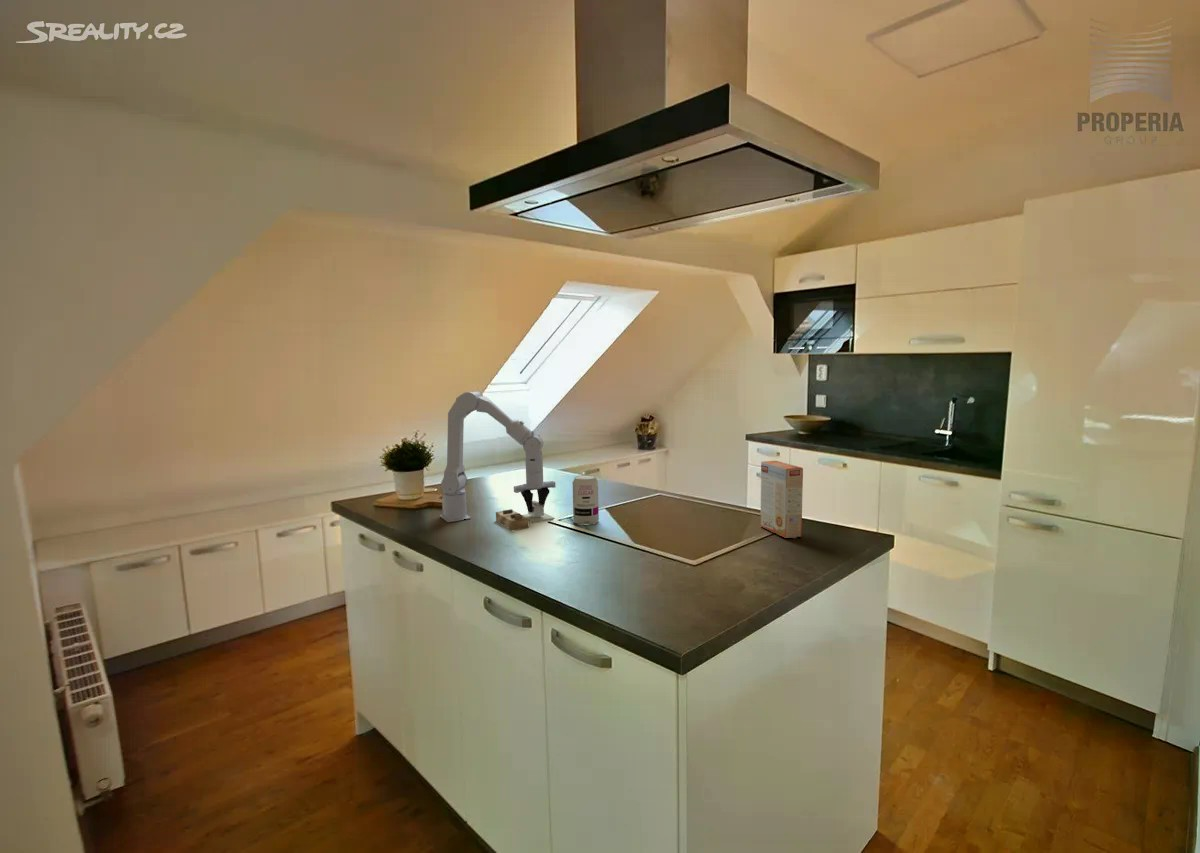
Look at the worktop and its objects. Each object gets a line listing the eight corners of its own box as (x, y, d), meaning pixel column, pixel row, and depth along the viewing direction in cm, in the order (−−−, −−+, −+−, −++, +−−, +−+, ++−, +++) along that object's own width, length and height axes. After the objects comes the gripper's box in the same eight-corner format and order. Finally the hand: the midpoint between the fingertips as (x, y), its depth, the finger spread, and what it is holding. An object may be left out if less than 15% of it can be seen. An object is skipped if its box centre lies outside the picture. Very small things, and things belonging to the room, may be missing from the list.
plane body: (496, 520, 193) (495, 509, 192) (511, 518, 196) (511, 506, 195) (512, 530, 181) (512, 518, 180) (528, 527, 184) (528, 515, 183)
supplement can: (590, 517, 195) (589, 473, 193) (603, 523, 188) (602, 477, 186) (569, 521, 190) (568, 476, 189) (581, 527, 183) (580, 480, 182)
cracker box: (803, 538, 167) (804, 467, 165) (784, 540, 166) (785, 468, 163) (776, 525, 181) (777, 459, 178) (759, 527, 179) (760, 460, 177)
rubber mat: (520, 516, 197) (520, 515, 197) (541, 513, 201) (541, 511, 201) (532, 523, 189) (532, 521, 189) (554, 519, 193) (554, 517, 193)
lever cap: (528, 513, 196) (527, 501, 195) (537, 512, 198) (537, 500, 197) (534, 517, 192) (534, 504, 191) (543, 515, 193) (543, 502, 193)
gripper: (519, 475, 186) (520, 516, 187) (559, 470, 194) (560, 510, 195) (510, 472, 192) (512, 512, 193) (549, 467, 200) (550, 506, 201)
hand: (535, 510), depth 195 cm, fingers closed on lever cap, 3 cm apart
